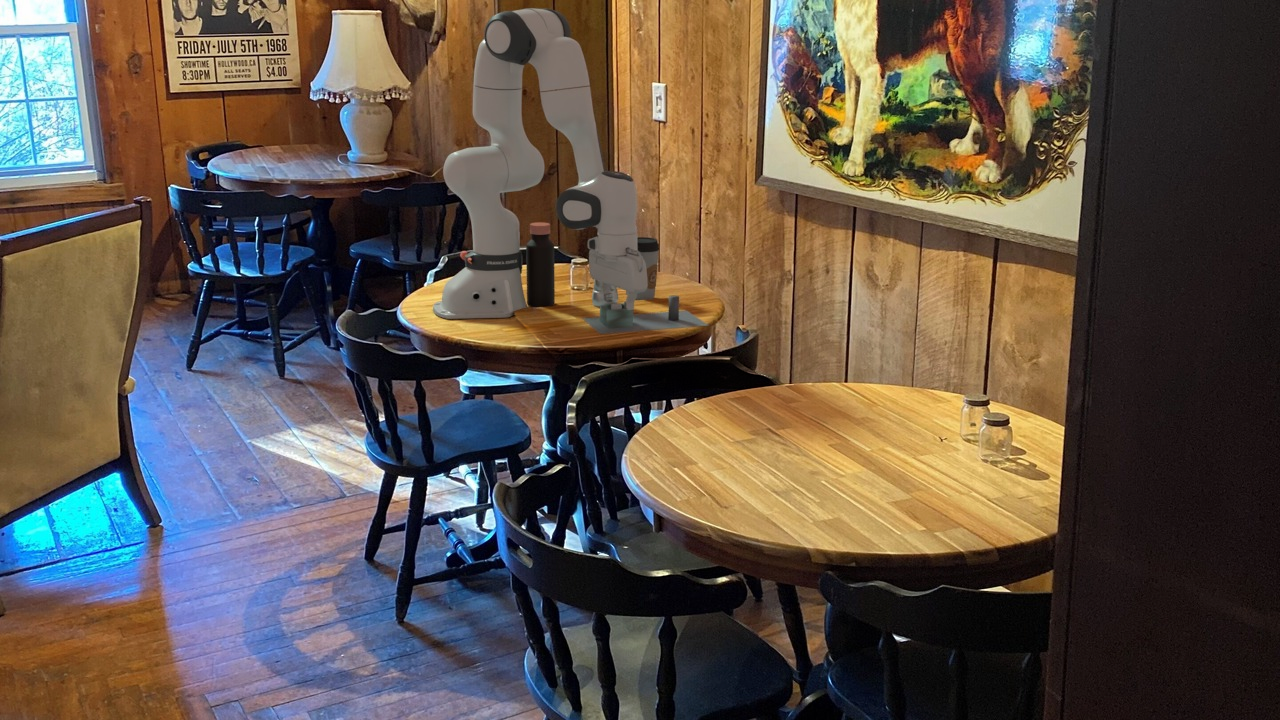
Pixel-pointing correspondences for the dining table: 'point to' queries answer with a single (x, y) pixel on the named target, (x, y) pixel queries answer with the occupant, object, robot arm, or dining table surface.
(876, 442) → the dining table surface
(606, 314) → the collar
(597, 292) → the plastic bottle
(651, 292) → the coffee cup
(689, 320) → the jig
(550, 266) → the vinegar
